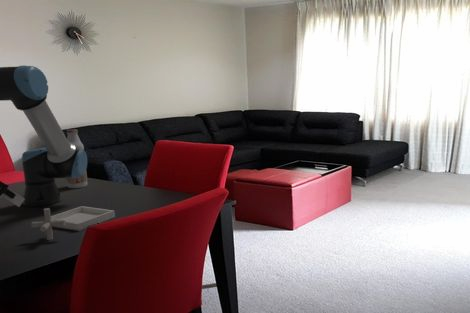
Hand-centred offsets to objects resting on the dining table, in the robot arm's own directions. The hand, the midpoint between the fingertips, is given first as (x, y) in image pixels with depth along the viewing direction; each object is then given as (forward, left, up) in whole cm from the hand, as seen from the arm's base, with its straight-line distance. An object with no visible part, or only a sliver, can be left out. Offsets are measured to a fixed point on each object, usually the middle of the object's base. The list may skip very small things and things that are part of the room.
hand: (10, 199), depth 134 cm
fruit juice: (-52, +69, -16) cm, 88 cm away
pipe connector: (+2, +10, -16) cm, 19 cm away
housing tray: (-4, +28, -15) cm, 33 cm away
